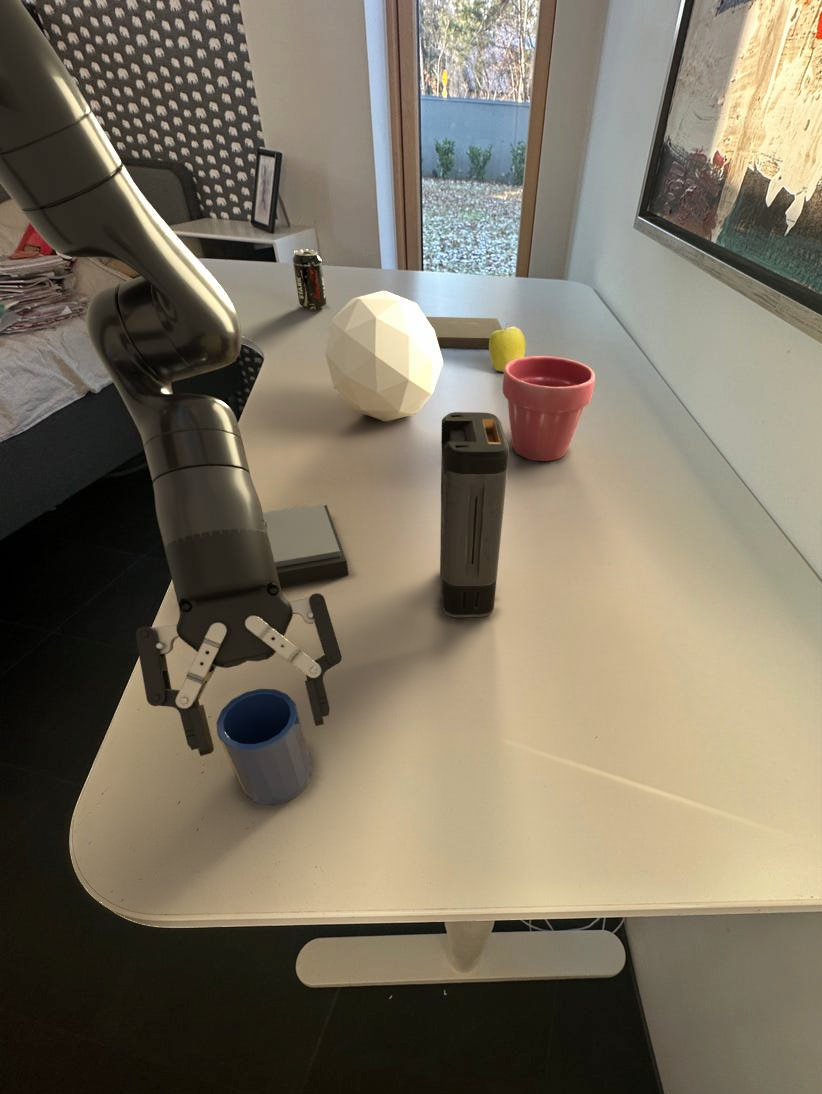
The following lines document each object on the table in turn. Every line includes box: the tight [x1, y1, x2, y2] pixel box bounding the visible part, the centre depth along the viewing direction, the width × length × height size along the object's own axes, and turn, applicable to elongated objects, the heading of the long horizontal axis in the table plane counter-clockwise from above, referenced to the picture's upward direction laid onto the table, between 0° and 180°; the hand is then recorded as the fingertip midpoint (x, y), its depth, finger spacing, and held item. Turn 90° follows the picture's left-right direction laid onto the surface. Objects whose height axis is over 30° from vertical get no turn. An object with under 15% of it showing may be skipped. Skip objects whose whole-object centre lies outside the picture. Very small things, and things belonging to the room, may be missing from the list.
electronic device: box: [439, 411, 510, 618], centre depth 61 cm, size 9×6×20 cm, turn 6°
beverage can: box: [292, 249, 327, 311], centre depth 142 cm, size 7×7×12 cm
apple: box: [488, 324, 526, 373], centre depth 119 cm, size 8×8×10 cm
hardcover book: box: [425, 316, 503, 350], centre depth 134 cm, size 16×23×2 cm
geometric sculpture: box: [325, 290, 444, 422], centre depth 96 cm, size 19×20×20 cm
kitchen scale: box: [263, 503, 349, 588], centre depth 70 cm, size 15×13×3 cm
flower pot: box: [502, 355, 596, 462], centre depth 91 cm, size 14×14×13 cm
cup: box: [216, 688, 313, 806], centre depth 46 cm, size 6×6×8 cm
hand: (265, 738), depth 45 cm, fingers open, 8 cm apart
